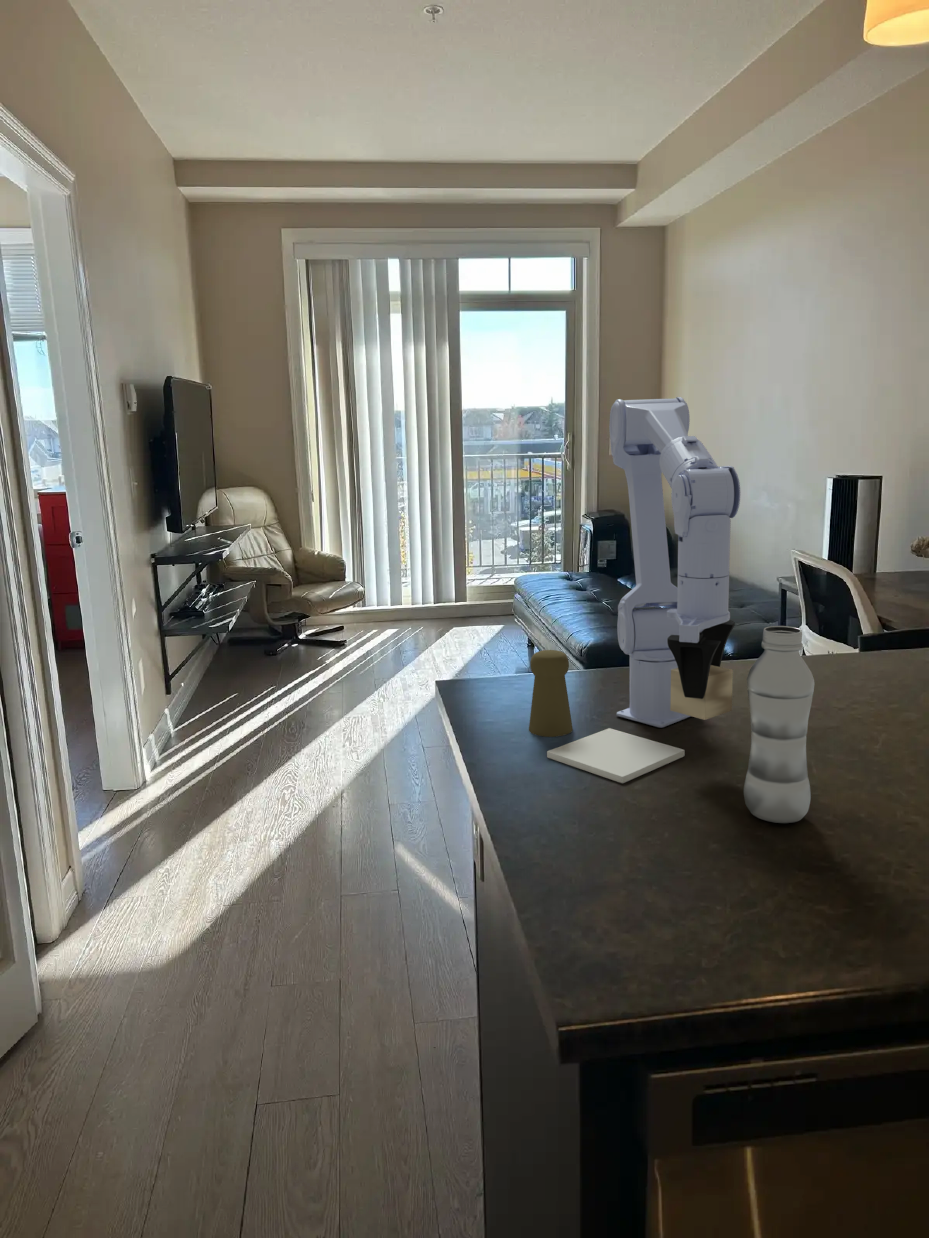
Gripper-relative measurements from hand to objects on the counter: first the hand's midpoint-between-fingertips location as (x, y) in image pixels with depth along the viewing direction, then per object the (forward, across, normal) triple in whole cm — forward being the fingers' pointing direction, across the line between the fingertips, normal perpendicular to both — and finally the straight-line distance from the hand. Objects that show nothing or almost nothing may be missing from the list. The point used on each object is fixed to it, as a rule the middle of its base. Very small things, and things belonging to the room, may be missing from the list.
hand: (700, 688), depth 105 cm
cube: (+3, 0, 0) cm, 3 cm away
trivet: (+10, 0, -10) cm, 14 cm away
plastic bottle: (+10, +11, +10) cm, 18 cm away
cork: (+10, -6, -22) cm, 25 cm away
